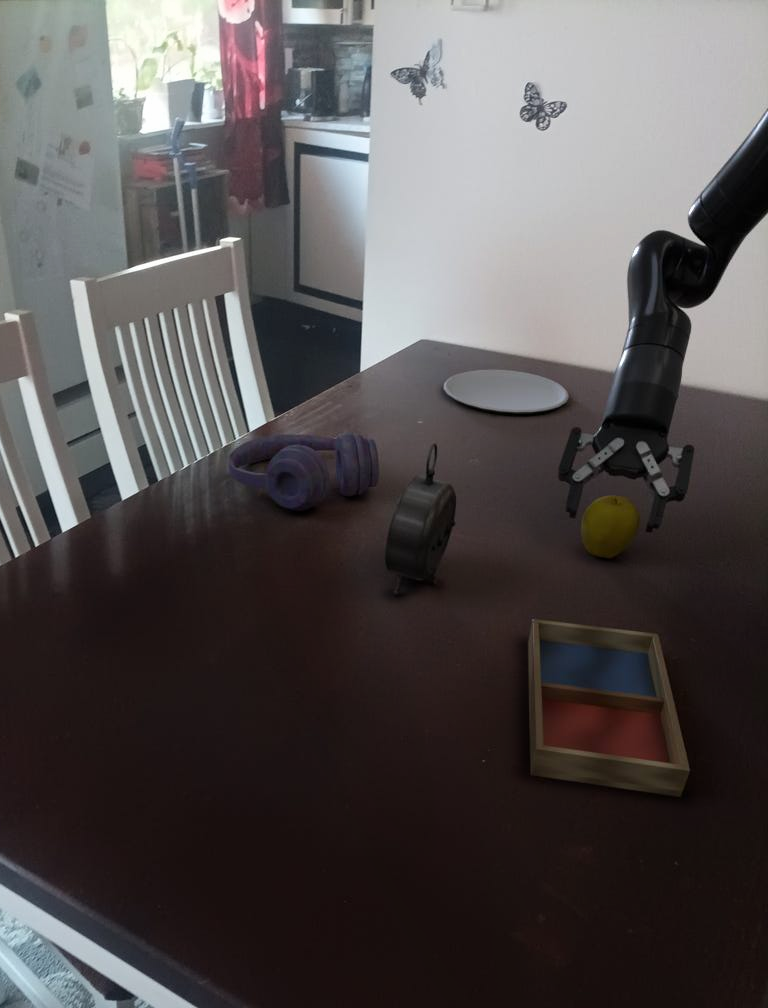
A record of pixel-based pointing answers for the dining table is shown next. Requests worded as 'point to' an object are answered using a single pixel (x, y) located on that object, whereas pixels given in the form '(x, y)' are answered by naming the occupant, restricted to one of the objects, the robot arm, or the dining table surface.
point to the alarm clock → (420, 527)
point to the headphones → (306, 467)
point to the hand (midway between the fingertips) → (610, 523)
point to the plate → (506, 391)
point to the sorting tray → (603, 709)
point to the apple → (609, 526)
